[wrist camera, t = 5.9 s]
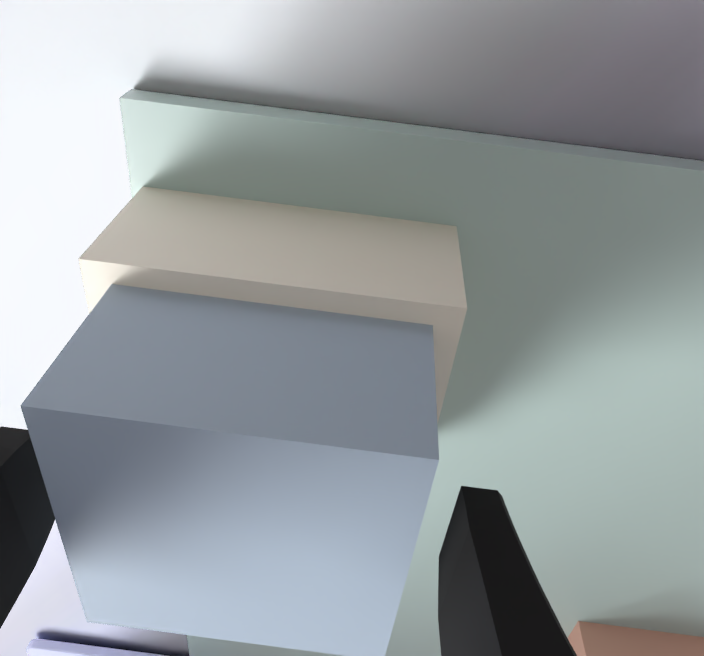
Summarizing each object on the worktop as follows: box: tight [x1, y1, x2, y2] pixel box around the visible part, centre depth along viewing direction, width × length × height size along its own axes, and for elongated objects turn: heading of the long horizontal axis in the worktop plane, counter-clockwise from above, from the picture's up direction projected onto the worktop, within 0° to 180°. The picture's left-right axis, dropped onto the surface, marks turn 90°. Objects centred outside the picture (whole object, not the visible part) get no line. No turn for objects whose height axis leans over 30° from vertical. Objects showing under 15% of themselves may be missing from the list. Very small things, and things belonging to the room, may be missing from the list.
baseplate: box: [120, 89, 704, 656], centre depth 18 cm, size 22×19×1 cm
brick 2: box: [21, 284, 439, 656], centre depth 11 cm, size 6×6×3 cm
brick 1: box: [79, 186, 467, 424], centre depth 13 cm, size 6×6×3 cm
